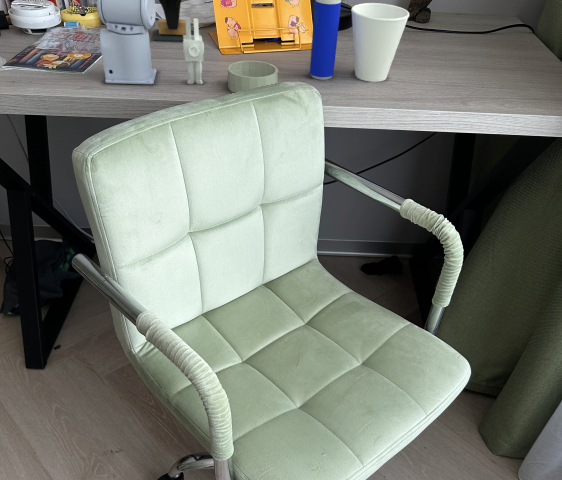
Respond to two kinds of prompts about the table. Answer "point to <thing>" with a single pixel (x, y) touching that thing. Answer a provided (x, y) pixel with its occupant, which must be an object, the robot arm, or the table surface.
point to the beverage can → (324, 38)
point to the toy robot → (193, 52)
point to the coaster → (169, 37)
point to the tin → (251, 75)
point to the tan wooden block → (165, 30)
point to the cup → (376, 38)
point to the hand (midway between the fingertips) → (173, 26)
